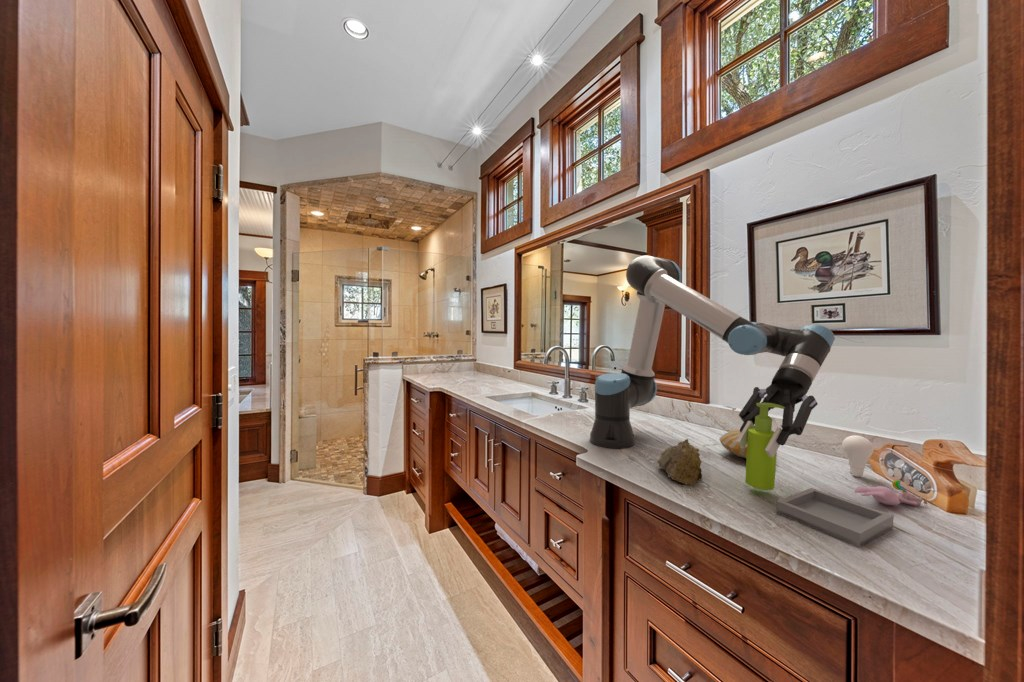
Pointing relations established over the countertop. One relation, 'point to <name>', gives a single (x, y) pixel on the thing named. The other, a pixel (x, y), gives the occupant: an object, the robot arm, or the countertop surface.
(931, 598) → the countertop surface
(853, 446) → the lightbulb
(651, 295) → the robot arm
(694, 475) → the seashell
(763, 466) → the soap dispenser
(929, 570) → the countertop surface
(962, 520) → the countertop surface
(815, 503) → the holder tray
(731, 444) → the nautilus
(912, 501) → the rabbit figure
